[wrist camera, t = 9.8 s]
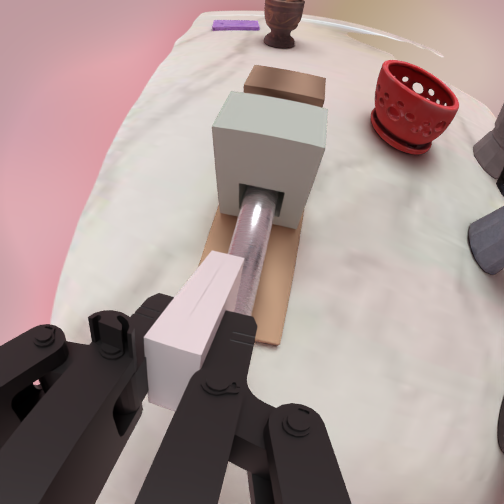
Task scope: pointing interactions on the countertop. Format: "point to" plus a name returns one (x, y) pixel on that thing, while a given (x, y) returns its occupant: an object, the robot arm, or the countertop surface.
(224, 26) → the sponges
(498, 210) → the moka pot
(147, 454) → the countertop surface
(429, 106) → the plant pot
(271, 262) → the pipe rig
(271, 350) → the countertop surface
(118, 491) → the countertop surface
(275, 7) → the mortar and pestle
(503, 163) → the coffeepot
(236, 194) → the sleeve
